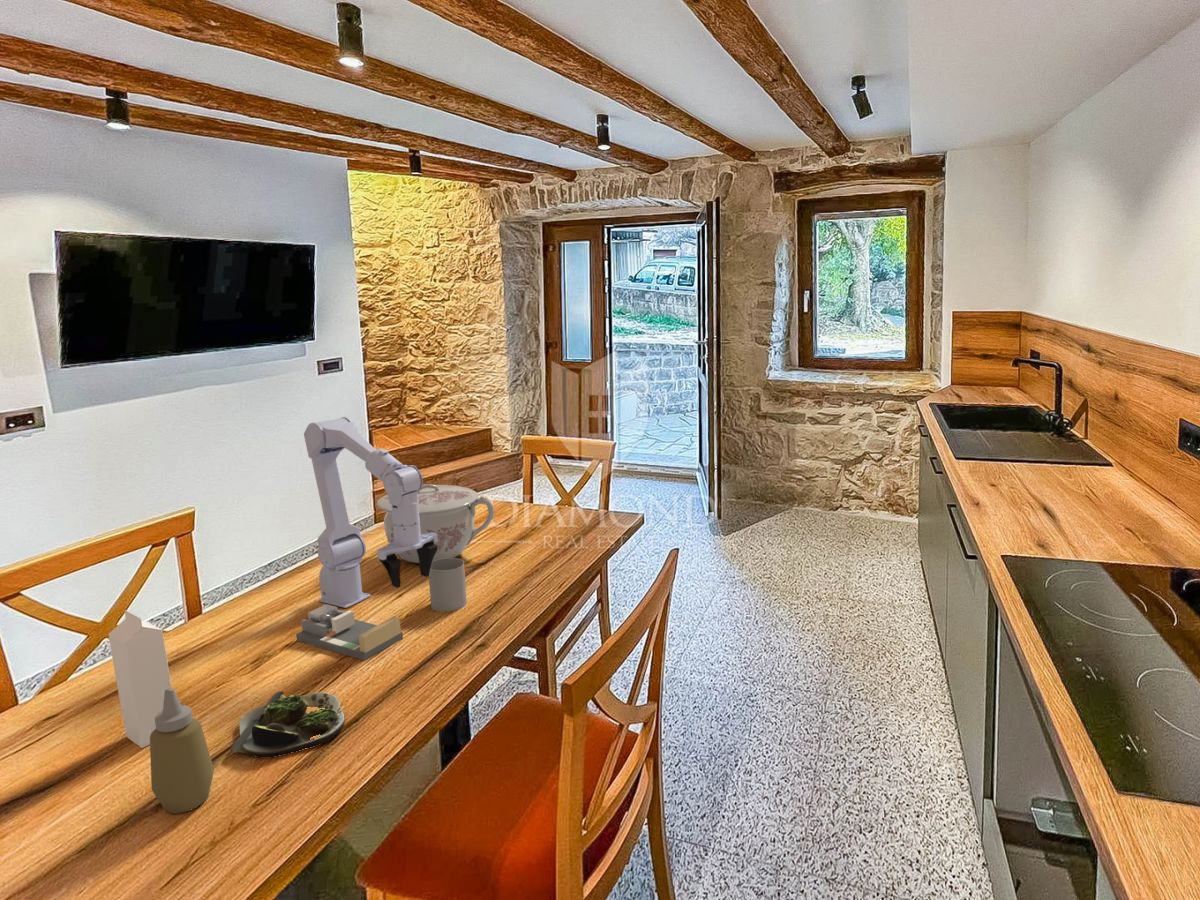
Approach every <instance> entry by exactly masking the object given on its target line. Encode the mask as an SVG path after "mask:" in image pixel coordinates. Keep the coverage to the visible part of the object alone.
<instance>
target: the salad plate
mask: <svg viewBox="0 0 1200 900" xmlns="http://www.w3.org/2000/svg"><path fill="white" fill-rule="evenodd" d="M307 707H311V708H313V707H318V708H317V709H316V710H312V711H310V712H309V713H307V710H308V709H307ZM319 708H321V709H319ZM322 708H325V709H322ZM345 722H346V717H345V714H344V712H343V710H342V707H341V703H340V701H339V700H338V698H337V697H336V695H334V694H332V693H328V692H313V693H308V694H304V695H299V694H294V695H290V696H285V692H284V691H277V692H275V693H274V694H273V695H272V696H271V698H269V700H268V701H267V702H266V704H264V705H261V706H258V707H256V708H254V709H251V711H249V712H247V713H246V714H245V715H243V716H242V718H241V719H240V720H239V724H238V725H239V737H238V738H237V739H236V740H235V741H234V743H233V745H232V746H231V747H230V748H231V749H230V751H232V753H233V754H235V753H244V754H247V755H250V756H252V757H255V756H256V757H255V758H260V757H271V758H275V757H274V756H277V757H280V756H279V755H282V756H284V755H283V754H287V755H289V754H288V753H291V752H295V753H297V752H296V751H298V752H300V751H299V750H302V749H305V748H310V747H313V746H316V745H319V744H321V743H323V744H325V743H327V742H329V741H330V739H331V738H332V739H333V738H335V737H336V736H337V735H338V734H339V732H341V730H342V729H343V728H344V726H345ZM319 734H320V735H321V736H319V737H317V738H316V739H314V740H313V739H312V740H310V738H311V737H313V736H316V735H319ZM336 734H337V735H336ZM335 735H336V736H335ZM334 736H335V737H334ZM332 739H331V740H332ZM328 740H329V741H328ZM326 741H327V742H326ZM324 742H325V743H324ZM321 745H322V744H321ZM319 746H320V745H319ZM316 747H317V746H316ZM313 748H314V747H313ZM310 749H311V748H310ZM302 751H303V750H302ZM291 754H292V753H291Z"/></svg>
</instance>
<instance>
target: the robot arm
mask: <svg viewBox="0 0 1200 900" xmlns="http://www.w3.org/2000/svg"><path fill="white" fill-rule="evenodd" d="M303 436H304V442H305V446H306V451H307V457H308V458H309V459H311V463H312V469H313V472H314V473H313V474H314V477H315V482H316V486H317V490H318V496H319V499H320V500H319V501H320V505H321V508H322V509H321V510H322V514H323V519H324V524H325V529H324V530H323V531H322V533H320V535H319V536H318V538H317V547H318V551H317V557H318V560H319V562H320V564H321V565H322V566H321V568H320V571H319V577H318V578H319V587H320V595H321V598H318V601H319V602H321V603H325V604H327V605H331V606H335V607H340V608H345V609H347V608H349V607H351V606H353V605H356V604H358V603H360V602H362V601H364V600H367V599H368V598H370V597H371V594H370V593H366V592H363V586H362V576H361V565H360V563H362V562H363V558H364V557H365V555H366V550H367V545H366V542H365V540H364V538H363V537H362V534H361V529H360V528H359V527H357V526H355V525H354V524H351V523H350V519H349V516H348V512H347V511H348V509H347V506H346V503H345V498H344V497H345V495H344V491H343V487H342V482H341V478H340V474H339V468H338V465H337V458H338V456H339V455H340V453H341V452H343V451H344V450H345V449H346V450H347V451H349V452H350V453H352V454H353V455H355V456H356V457H358V458H359V459H361V460H362V461H363V462H364V465H365V469H366V470H367V471H368V472H369V473H370V474H372V476H374V477H375V478H377V479H378V480H379V481H380V482H381V483H383V488H384V491H385V493H386V495H388V501H389V503H390V504H391V507H392V519H393V532H394V542H392V543H390V544H389V543H387V544H386V545H385V546H383V547H381V548H378V549H376V555H377V556H376V557H377V560H379V562H380V563H381V564H382V565H383V567H384V569H385V571H386V572H387V575H388V577H389V580H390V582H391V586H392V587H394V588H395V589H399V588H401V582H402V581H401V566H402V562H403V559H402V558H398V554H399V553H402V552H405V551H408V550H411V549H416V550H417V553H418V557H419V563H418V564H419V572H420V576H422V577H423V578H424V577H425V578H429V573H430V568H431V564H432V560H433V557H434V555H435V553H436V551H437V545H435V544H434V543H436V542H438V537H437V534H435V533H432V532H431V533H428V534H423V535H421V531H420V517H419V503H418V491H419V490H420V489H421V488H422V485H424V480H423V475H422V473H421V471H420V470H419V469H418V468H417V466H416V465H413V464H412V465H411V464H410V465H407V464H403V463H402V462H400V461H399V460H398V459H397V458H396V457H394V456H393V455H392V454H390V453H389V450H387V449H386V448H378V449H376V448H375V447H374V446H373V445H371V443H370V442H368V441H367V439H365V437H364V436H362V434H360V433H359V432H358V427H357V424H356V423H355V422H354V421H352V420H351V419H350V418H349V417H347V416H342V417H340V418H334V419H329V420H325V421H324V420H323V421H319V422H310V423H309V424H308V425H307V427H306V429H305V430H304V432H303Z"/></svg>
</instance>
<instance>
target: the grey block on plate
mask: <svg viewBox="0 0 1200 900" xmlns="http://www.w3.org/2000/svg"><path fill="white" fill-rule="evenodd" d="M338 610H339V606H336V605H332V604H328V603H325V604H323V605H322V606H320V607H318V608H315V609H313V610H311V611H308V613H307V615H308V620H310V621H313V622H317V623H320V624H324V625H327V628H328V627H330V626H332V621H331V619H333V618H335V617H337V616H338Z"/></svg>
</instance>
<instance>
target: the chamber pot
mask: <svg viewBox="0 0 1200 900" xmlns="http://www.w3.org/2000/svg"><path fill="white" fill-rule="evenodd" d="M418 503H419V517H420V531H421V535H423V534H428V533H431V532H432V533H435V534H437V537H438V542H436V543H434V544H435V545H437V551H436V553H435V555H434V557H433V560H432V561H435V560H438V559H444V558H456V557H458V556H459V555H462V553H463V552H464V551H465V549H466V548H467V546H469V545H470V544H471V543H472V541H473V540H474V538H475V537H477V535H478V534H479V533H481V532H482V531H483V530H485V529H486V528H488V526H489V525H490V524H491V522H492V520H493V519H494V516H495V509H494V508H495V507H494V505H493V502H492V501H491V500H490V499H489V498H488V497H486V496H484V495H481V496H480V497H479V495H478V492H477V491H475V490H474V489H472V488H468V487H465V486H459V485H453V484H451V485H450V484H433V483H431V484H430V483H426V484H424V483H423V485H422V488H421V489H420V490H419V491H418ZM479 505H485V506H486V507H487V512H488V515H487V518H486V519H485V520H484V522H483V523H482V524H481V525H480V526H477V527H476V528H475V516H476V514H477V513H476V512H477V511H476V507H477V506H479ZM376 507H377V508H378V509H380V510H381V511H383V512H385V515H384V517H383V528H384V532H385V536H386V539H387V542H388V543H387V544H390V543H392V542H394V532H393V519H392V507H391V504H390V503H389V501H388V495H387V494H385V495H383V496H382V497H380V498H379V499H378V500H377V501H376ZM397 556H399V557H400V559H401V560H404V561H406V562H409V563H414V564H419V557H418V553H417V550H416V549H411V550H408V551H405V552H402V553H399V554H397Z"/></svg>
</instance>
